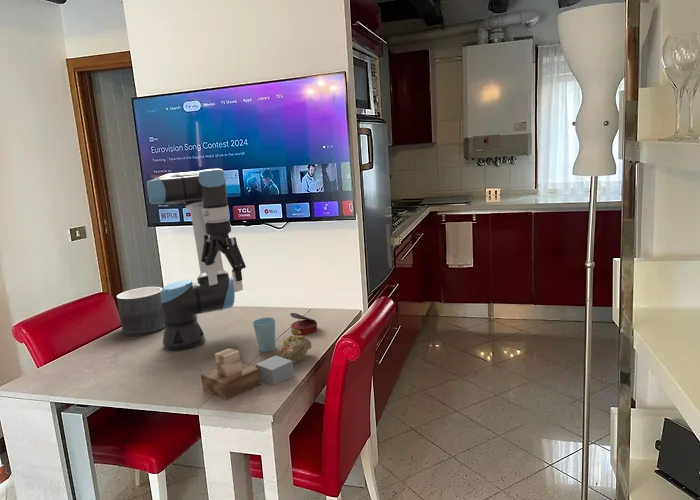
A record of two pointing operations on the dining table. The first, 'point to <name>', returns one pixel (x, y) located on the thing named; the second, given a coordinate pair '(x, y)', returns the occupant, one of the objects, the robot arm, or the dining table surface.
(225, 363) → the oak block
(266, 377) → the slate block
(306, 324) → the canned food
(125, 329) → the planter
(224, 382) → the walnut pedestal
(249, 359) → the dining table surface
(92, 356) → the dining table surface
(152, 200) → the robot arm
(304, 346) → the rock
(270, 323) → the cup
